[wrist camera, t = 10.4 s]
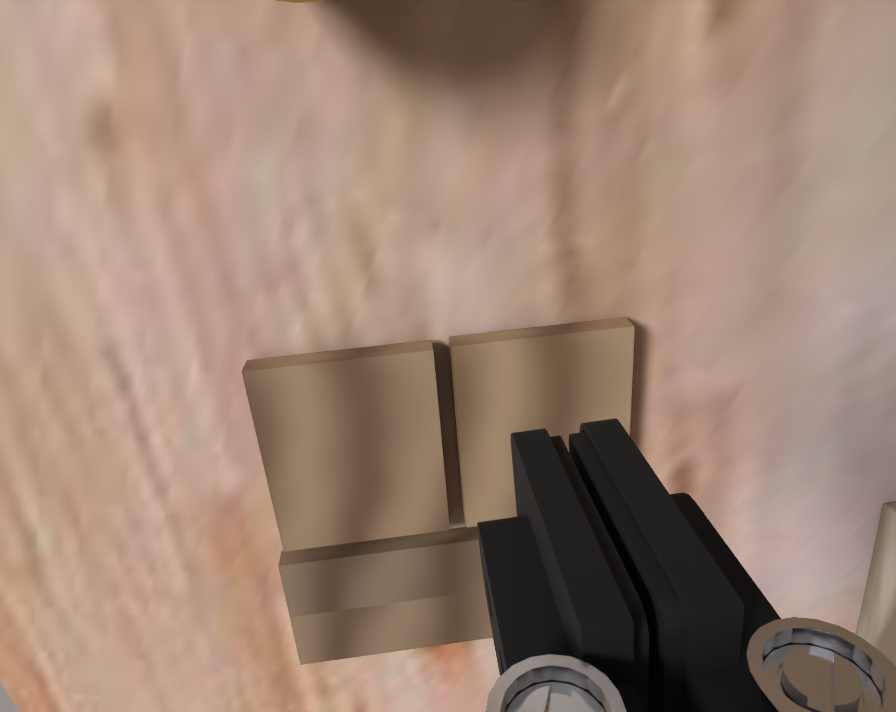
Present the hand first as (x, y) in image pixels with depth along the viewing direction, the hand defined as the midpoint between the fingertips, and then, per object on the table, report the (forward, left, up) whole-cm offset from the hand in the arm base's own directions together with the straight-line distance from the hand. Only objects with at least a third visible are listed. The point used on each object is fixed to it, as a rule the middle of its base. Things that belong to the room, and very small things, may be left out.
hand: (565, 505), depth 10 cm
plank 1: (+6, +12, -25) cm, 28 cm away
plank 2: (-5, +12, -25) cm, 28 cm away
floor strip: (0, +23, -25) cm, 34 cm away
